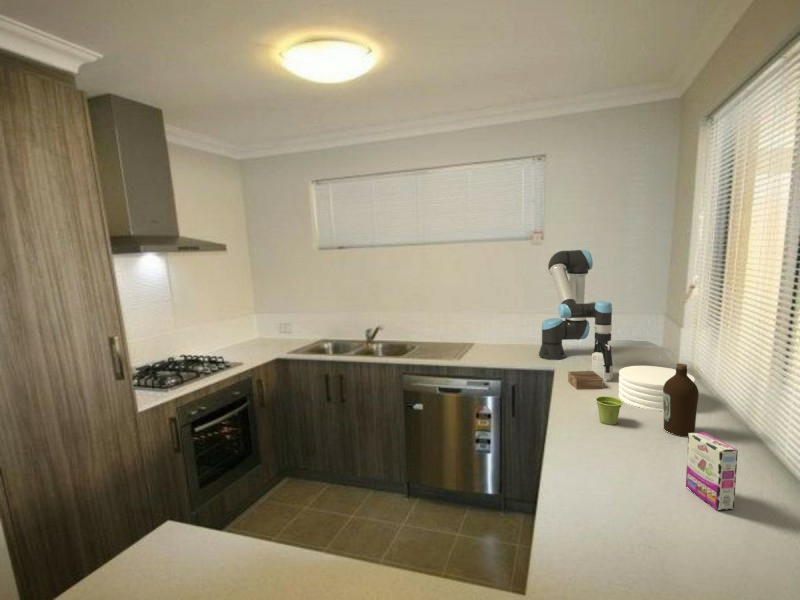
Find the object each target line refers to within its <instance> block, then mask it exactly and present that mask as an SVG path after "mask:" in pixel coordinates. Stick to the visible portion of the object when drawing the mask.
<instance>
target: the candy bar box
mask: <svg viewBox="0 0 800 600" xmlns="http://www.w3.org/2000/svg"><path fill="white" fill-rule="evenodd" d="M687 438H688V439H687V455H686V458H687V459H686V475H685V476H686V477H685V478H686V479H685V488H686V487H688V488H689V489H690V490H691V491H692V492H693V493H692V492H691V491H690V490H689V491H690V492H691V493H692V494H694V493H695V494H696V495H695V494H694V495H695V496H696V497H698V496H699V497H700V498H699V497H698V498H699V499H700V500H702V499H703V500H704V501H703V500H702V501H703V502H705V503H706V502H707V503H706V504H708V505H709V504H710V505H711V506H710V505H709V506H710V507H712V506H713V507H714V508H715V510H716V509H717V510H722V511H727V510H726V509H733V510H735V500H736V499H735V497H736V486H737V469H738V468H737V467H738V455H739V454H738V451H739V450H738V449H737V448H735V447H733V446H731V445H730V444H727V443H725V442H723V441H721V440H720V439H718V438H716V437H714V436H712V435H710V434H708V433H707V432H705V431H702V432H701V431H700V432H699V431H698V432H695V433H688V437H687ZM713 507H712V508H713ZM714 508H713V509H714ZM717 510H716V511H717Z"/></svg>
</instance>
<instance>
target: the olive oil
mask: <svg viewBox="0 0 800 600" xmlns="http://www.w3.org/2000/svg"><path fill="white" fill-rule="evenodd" d="M687 367H688V365H687V364H685V363H677V364H676V367H675V370H676V374H675V375H674V376H673V377H671V378H670V379H669V380H667V381H666V382H665V384H664V387H663V407H664V412H663V430H664V429H665V430H666V431H668V432H670V433H673V434H676V435H680V436H679V437H682V436H688V433H696V432H695V431H696V421H697V420H696V419H697V412H698V404H699V395H700V394H699V389H698V386H697V383H696V382H695V383H694V382H693V381H692V380H691V379H690V378H689V377H688V376H687V373H688V368H687ZM665 430H664V431H665ZM666 431H665V432H666ZM668 432H667V433H668ZM670 433H669V434H670ZM673 434H672V435H673ZM676 435H675V436H676Z"/></svg>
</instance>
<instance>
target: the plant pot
mask: <svg viewBox="0 0 800 600" xmlns="http://www.w3.org/2000/svg"><path fill="white" fill-rule="evenodd" d="M595 401H596V405H597V409H598V419H599V421H600V423H603V424H604V423H605V424H604V425H608V424H614V425H616V423H617V424H618V420H619V415H620V410H621V407H622V405H623V403H624V402H623V401H622V400H621V399H620V398H617V397H615V396H614V397H613V396H607V395H604V396H597V397H595Z"/></svg>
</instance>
